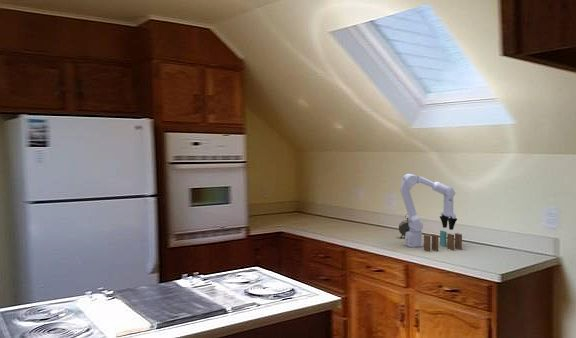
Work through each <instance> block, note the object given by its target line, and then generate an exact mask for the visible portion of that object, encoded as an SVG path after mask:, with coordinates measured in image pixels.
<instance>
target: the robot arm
mask: <svg viewBox="0 0 576 338" xmlns="http://www.w3.org/2000/svg"><path fill="white" fill-rule="evenodd" d="M416 184H422V185H426V186H427V187H430V188H432V190H433V191H434V192H437V193H438V194H441V195H443V211H441V212H440V216H439V219H440V221H441V225H442V228H443V229H444V228H449V230H451V231H453V230H454V228H455V224H456V222H457V221H458V218H457V215H456V214H455V213H454V196H455V195H456V191H455V189H454V187H449V185H447V184H443V183H442V182H441V181H434V182H433V181H431V180H429V179H427V178H425V177H423V176H421V175H417V174H416V175H415V174H411V173H406V174H405V175H403V177H402V178H401V184H400V194H401V197H402V199H403V203H404V206H405V209H406V213H407V216H408V217H407V218H408V220H409V224H408V225H409V227H410V231H409V232H406V233H405V236H404V246H407V247H409V248H416V247H417V248H418V247H419V248H420V247H424V244H423V242H422V239H423V238H422V235H423V234H422V233H423V231H422V230H423V228H424V225H423V222H422V221H420V218H419V216H418V215H417V210H416V207H415V205H414V201H413V197H412V195H411V189H412V187H414V186H416Z"/></svg>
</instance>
